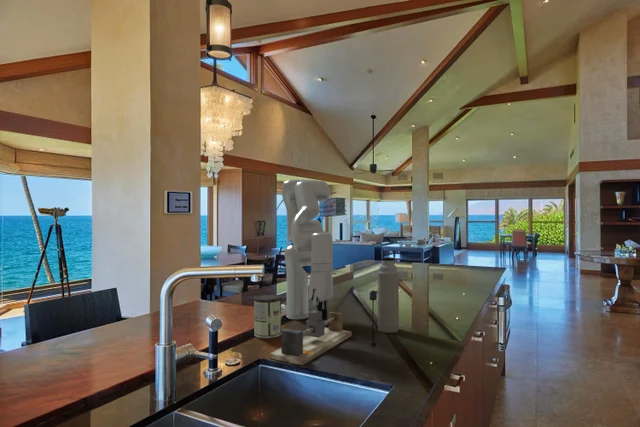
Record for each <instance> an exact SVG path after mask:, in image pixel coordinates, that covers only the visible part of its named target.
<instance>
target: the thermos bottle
mask: <svg viewBox="0 0 640 427" xmlns="http://www.w3.org/2000/svg"><path fill="white" fill-rule="evenodd" d="M399 277H400V274H399V272H398V267H397V266H396V265H395V258H394V257H387V256H386V257H385V256H384V257H381V265H379V271H378V272H377V330H378V331H379V332H381V333H390V334H391V333H397V332H399V331H398V330H400V329H399V328H400V327H399V326H400V325H399V324H400V323H399V321H400V320H399V319H400V318H399V317H400V316H399V314H400V313H399V311H400V310H399V307H400V305H399V304H400V303H399V302H400V300H399V299H400V298H399V297H400V296H399V293H400V292H399V289H400V287H399V284H400V282H399Z"/></svg>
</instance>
